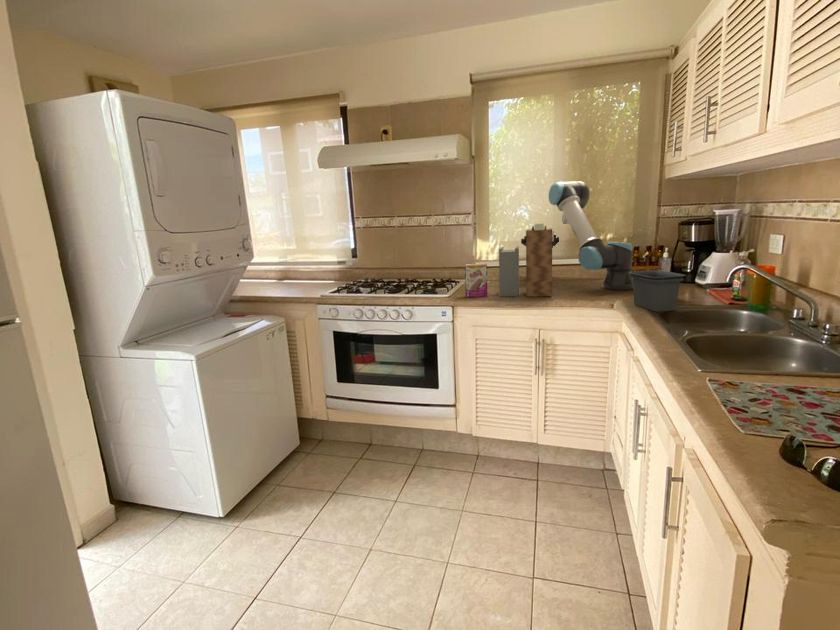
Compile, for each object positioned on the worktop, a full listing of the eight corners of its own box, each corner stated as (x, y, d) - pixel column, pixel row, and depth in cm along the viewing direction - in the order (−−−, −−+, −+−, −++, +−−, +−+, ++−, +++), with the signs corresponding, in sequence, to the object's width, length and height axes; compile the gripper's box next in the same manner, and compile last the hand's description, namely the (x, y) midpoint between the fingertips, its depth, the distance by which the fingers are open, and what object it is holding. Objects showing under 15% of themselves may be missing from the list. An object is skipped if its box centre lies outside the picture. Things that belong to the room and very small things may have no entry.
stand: (551, 292, 232) (552, 225, 224) (551, 296, 220) (552, 226, 213) (527, 292, 235) (526, 226, 227) (526, 296, 224) (525, 227, 216)
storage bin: (624, 304, 196) (625, 270, 193) (658, 301, 197) (660, 268, 194) (653, 314, 175) (655, 277, 172) (691, 311, 176) (694, 274, 173)
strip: (543, 227, 234) (543, 221, 233) (543, 230, 213) (543, 223, 213) (535, 228, 235) (535, 222, 235) (534, 230, 215) (534, 223, 214)
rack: (519, 291, 239) (518, 246, 234) (517, 295, 227) (517, 248, 222) (501, 291, 241) (501, 247, 236) (499, 296, 230) (498, 249, 225)
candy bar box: (465, 297, 231) (464, 265, 227) (465, 295, 236) (464, 264, 232) (488, 296, 230) (487, 264, 226) (487, 295, 235) (486, 263, 231)
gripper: (562, 255, 259) (564, 239, 240) (517, 256, 266) (515, 241, 246) (562, 243, 261) (564, 226, 242) (518, 244, 268) (516, 228, 248)
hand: (539, 234), depth 244 cm, fingers open, 13 cm apart
